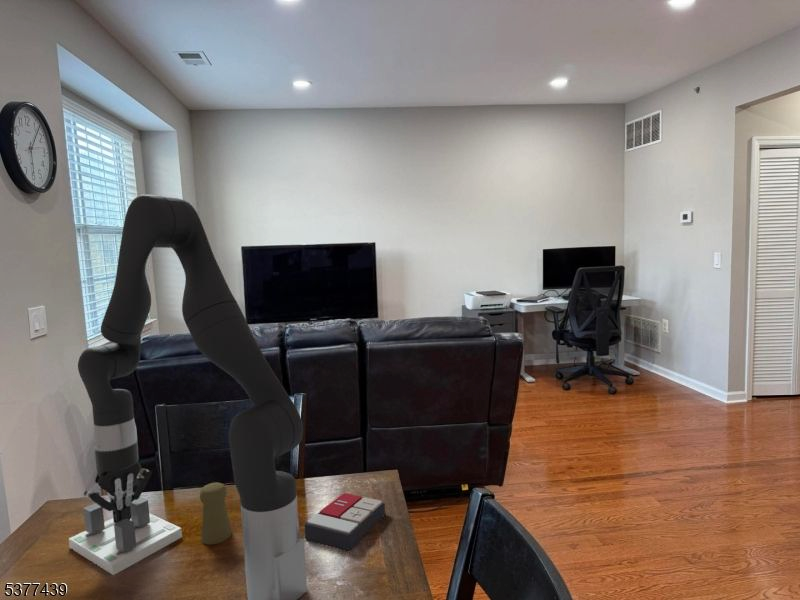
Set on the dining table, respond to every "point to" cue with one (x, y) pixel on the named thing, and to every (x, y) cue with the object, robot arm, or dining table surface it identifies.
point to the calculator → (344, 521)
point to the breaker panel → (113, 560)
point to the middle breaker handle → (140, 512)
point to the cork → (214, 514)
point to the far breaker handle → (94, 518)
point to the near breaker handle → (125, 535)
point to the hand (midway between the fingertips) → (123, 524)
